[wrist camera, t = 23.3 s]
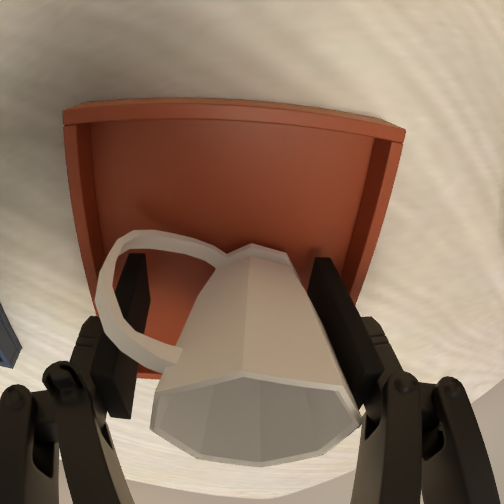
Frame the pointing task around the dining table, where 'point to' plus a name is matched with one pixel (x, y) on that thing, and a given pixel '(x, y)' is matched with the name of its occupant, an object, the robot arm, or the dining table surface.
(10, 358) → the blue tray
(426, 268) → the dining table surface
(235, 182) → the terracotta tray
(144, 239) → the cup
